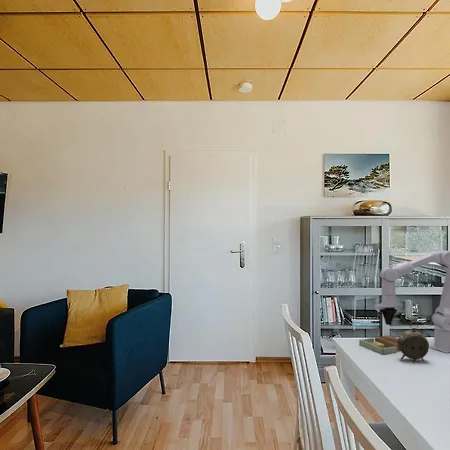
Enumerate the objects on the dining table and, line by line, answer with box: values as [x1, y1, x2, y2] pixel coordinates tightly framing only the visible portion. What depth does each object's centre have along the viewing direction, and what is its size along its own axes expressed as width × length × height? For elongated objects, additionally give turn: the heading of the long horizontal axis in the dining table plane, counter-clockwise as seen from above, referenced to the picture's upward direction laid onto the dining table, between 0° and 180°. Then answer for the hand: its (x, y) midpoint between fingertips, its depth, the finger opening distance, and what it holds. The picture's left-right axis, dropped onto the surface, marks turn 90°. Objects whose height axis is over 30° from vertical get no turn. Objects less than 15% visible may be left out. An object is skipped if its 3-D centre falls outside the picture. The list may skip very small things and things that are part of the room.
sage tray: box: [358, 337, 398, 356], centre depth 167 cm, size 8×14×2 cm, turn 22°
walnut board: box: [374, 335, 401, 353], centre depth 170 cm, size 9×12×3 cm
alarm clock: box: [398, 320, 430, 364], centre depth 152 cm, size 11×5×16 cm, turn 84°
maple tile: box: [370, 341, 384, 348], centre depth 166 cm, size 4×4×2 cm
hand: (388, 324), depth 169 cm, fingers closed
